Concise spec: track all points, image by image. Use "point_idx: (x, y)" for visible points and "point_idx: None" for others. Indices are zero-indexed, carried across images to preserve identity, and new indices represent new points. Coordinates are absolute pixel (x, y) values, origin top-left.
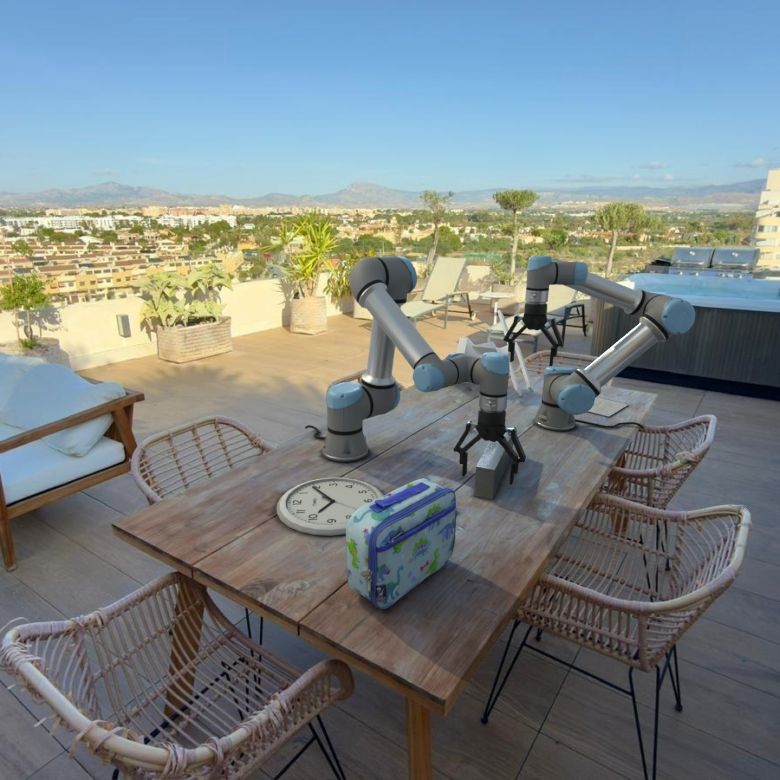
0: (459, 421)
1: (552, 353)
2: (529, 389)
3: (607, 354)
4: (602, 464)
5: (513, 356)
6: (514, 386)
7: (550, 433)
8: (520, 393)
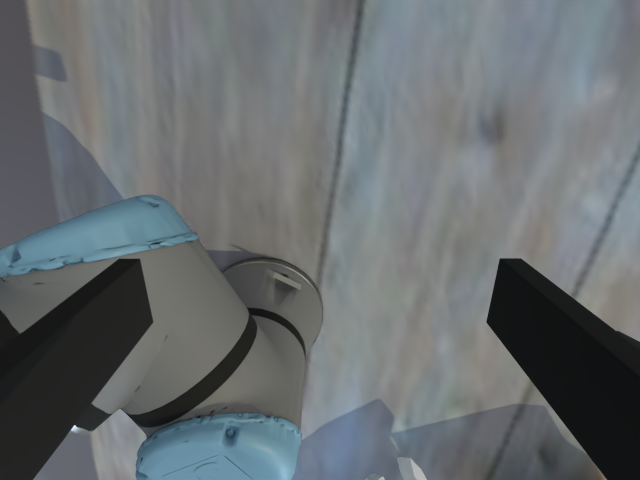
0: (549, 198)
1: (14, 339)
2: (377, 476)
3: None
4: (48, 55)
5: (516, 323)
6: (423, 477)
7: (257, 234)
8: (400, 466)
